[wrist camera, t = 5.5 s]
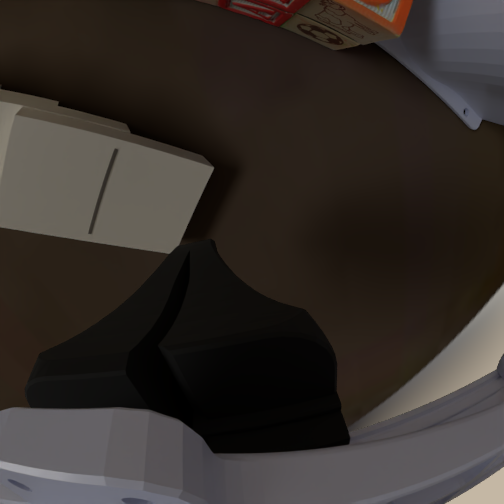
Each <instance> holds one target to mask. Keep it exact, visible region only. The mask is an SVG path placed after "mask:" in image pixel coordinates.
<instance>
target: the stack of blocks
mask: <svg viewBox="0 0 504 504" xmlns="http://www.w3.org/2000/svg"><path fill="white" fill-rule="evenodd" d="M196 1H200V2H204V3H207V4H211V5H214V6H219V7H221V8H223V9H226V10H229V11H233V12H236V13H239V14H243V15H246V16H249V17H251V18H254V19H259V20H261V21H263V22H265V23H268V24H271V25H274V26H276V27H282V28H285V29H287V30H290V31H292V32H294V33H297V34H299V35H302V36H304V37H306V38H308V39H311V40H313V41H315V42H317V43H319V44H322V45H324V46H326V47H328V48H330V49H332V50H339V49H344V48H349V47H354V46H357V45H360V44H362V45H366V44H369V43H373V42H378V41H383V40H388V39H394V38H398V37H400V35H401V33H402V31H403V29H404V26H405V24H406V21H407V18H408V15H409V12H410V9H411V6H412V3H413V0H196Z"/></svg>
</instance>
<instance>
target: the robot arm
mask: <svg viewBox="0 0 504 504" xmlns="http://www.w3.org/2000/svg"><path fill="white" fill-rule="evenodd" d="M374 43H376V44H377V45H378V46H380V47H381V48H382V49H384V50H385V51H386V52H387V53H389V54H390V55H391V56H392V57H394V58H395V59H396V60H397V61H399V62H400V63H401V64H402V65H404V66H405V67H406V68H407V69H408V70H410V71H411V72H412V73H413V74H414V75H415V76H416V77H418V78H419V79H420V80H421V81H422V82H423V83H424V84H425V85H427V86H428V87H429V88H430V89H431V90H432V91H433V92H434V93H435V94H436V95H437V96H438V97H439V98H440V99H441V100H442V101H443V102H445V103H446V104H447V105H448V106H449V107H450V108H451V109H452V110H453V112H454V113H455V114H456V115H457V116H458V117H459V118H460V119H461V120H462V121H463V122H464V123H465V124H466V125H467V126H468V127H469V128H470V129H473V130H476V129H477V128H478V127H479V125H480V123H481V121H482V119H483V120H487V121H490V122H494V123H497V124H500V125H504V0H413V3H412V6H411V9H410V12H409V15H408V18H407V21H406V24H405V26H404V29H403V31H402V33H401V35H400V37H398V38H394V39H388V40H383V41H378V42H374ZM464 109H465V114H464V113H463V111H464ZM336 388H337V361H336V356H335V353H334V350H333V348H332V346H331V344H330V343H329V341H328V339H327V338H326V336H325V335H324V333H323V331H322V330H321V329H320V327H319V326H318V325H317V323H316V322H315V321H314V319H313V318H312V317H311V316H310V315H309V313H308V312H307V311H306V310H304V309H301V308H298V307H294V306H290V305H287V304H283V303H280V302H277V301H275V300H273V299H270V298H268V297H266V296H264V295H262V294H260V293H259V292H257V291H255V290H254V289H252V288H251V287H250V286H248V285H247V284H246V283H244V282H243V281H242V280H241V279H240V278H238V277H237V276H236V275H235V274H234V273H233V272H232V271H231V269H230V268H229V267H228V266H227V265H226V264H225V262H224V261H223V260H222V258H221V257H220V255H219V254H218V252H217V248H216V244H215V241H213V240H212V239H208V240H203V241H199V242H194V243H189V244H185V245H180V246H177V247H176V248H175V249H174V250H173V251H172V252H171V253H170V254H169V255H168V257H167V258H166V259H165V260H164V261H163V262H162V264H161V265H160V266H159V267H158V268H157V270H156V271H155V272H154V273H153V274H152V275H151V276H150V277H149V278H148V279H147V280H146V282H145V283H144V284H143V285H142V286H141V287H140V288H139V289H138V290H137V291H136V292H135V293H134V294H133V295H132V296H131V297H130V298H128V299H127V300H126V301H125V302H124V303H123V304H122V305H120V306H119V307H118V308H117V309H115V310H114V311H113V312H111V313H110V314H109V315H107V316H106V317H104V318H103V319H102V320H100V321H99V322H98V323H96V324H95V325H93V326H91V327H90V328H88V329H87V330H85V331H83V332H82V333H80V334H78V335H77V336H75V337H73V338H71V339H69V340H67V341H65V342H63V343H61V344H59V345H57V346H55V347H53V348H51V349H49V350H47V351H44V352H42V353H40V354H39V356H38V358H37V361H36V363H35V365H34V368H33V370H32V372H31V375H30V377H29V380H28V382H27V385H26V387H25V397H26V399H27V401H28V403H29V405H30V407H31V408H22V407H15V408H10V409H6V410H2V411H0V504H445V503H447V502H449V501H451V500H452V499H454V498H456V497H458V496H459V495H461V494H463V493H464V492H466V491H468V490H469V489H471V488H473V487H474V486H475V485H477V484H479V483H480V482H482V481H484V480H485V479H486V478H488V477H490V476H491V475H492V474H494V473H495V472H497V471H498V470H500V469H501V468H502V467H504V354H503V356H502V357H501V359H500V361H499V364H498V366H497V369H496V370H495V371H493V372H491V373H489V374H487V375H486V376H484V377H482V378H480V379H478V380H476V381H474V382H472V383H471V384H469V385H467V386H465V387H463V388H461V389H459V390H457V391H455V392H452V393H450V394H448V395H446V396H444V397H442V398H440V399H437V400H435V401H433V402H430V403H428V404H426V405H423V406H421V407H419V408H416V409H414V410H411V411H409V412H406V413H404V414H401V415H398V416H396V417H393V418H390V419H388V420H385V421H382V422H379V423H377V424H373V425H371V426H367V427H364V428H361V429H358V430H355V431H352V432H348V429H347V426H346V424H345V421H344V418H343V415H342V413H341V402H340V399H339V397H338V394H337V391H336Z"/></svg>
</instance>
